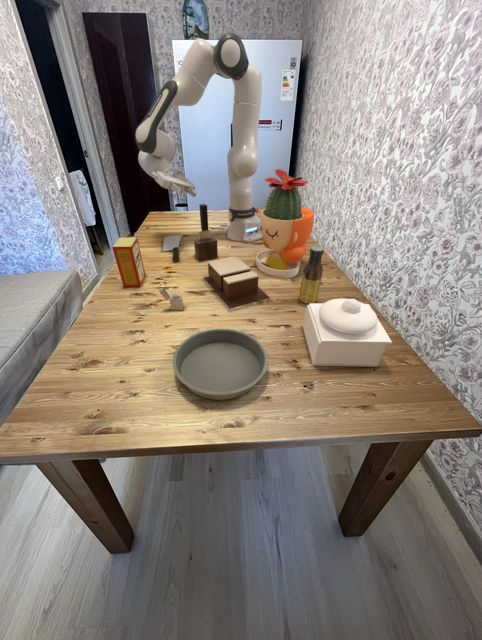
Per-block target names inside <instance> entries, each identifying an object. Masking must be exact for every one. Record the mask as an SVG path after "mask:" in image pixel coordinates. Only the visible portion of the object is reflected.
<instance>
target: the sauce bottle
mask: <svg viewBox="0 0 482 640" xmlns="http://www.w3.org/2000/svg"><path fill="white" fill-rule="evenodd" d="M324 251H325V248H324V247H323V246H320V245H313V246H311V247H310V249H309V258H308V262H307V263H306V265H305V266H304V268H303V270H302V276H301V281H300V288H299V295H298V300H299V302H300V303H301V304H303V305H309V304H310V303H317V300H318V298H319V297H318V296H319V292H320V287H321V284H322V283H321V282H322V278H323V272H324V267H323V265H322V257H323V255H324Z"/></svg>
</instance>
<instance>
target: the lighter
mask: <svg viewBox="0 0 482 640" xmlns="http://www.w3.org/2000/svg"><path fill="white" fill-rule="evenodd" d="M158 292H159V293H160V295H161V297H162V298H163V299H164V300H165V301H168V300H169V305H170V310H171V311H183V310H184V309H185V307H184V299H183V296H180V295H179V294H172V296H170V294H169V293H168V291H167V290H166V289H165V287H160V288H159V289H158Z"/></svg>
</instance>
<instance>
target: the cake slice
mask: <svg viewBox="0 0 482 640" xmlns="http://www.w3.org/2000/svg"><path fill="white" fill-rule="evenodd" d="M259 276H260V275H259V274H257V272H255V271H254V270H252V271H251V270H250V272H247V273H242V274H238V275H233V276H229V277H225V278H223V287H224V295H225V296H226V297H227V299H232V298H236V297H240V296H244V295H248V294H251V293H255V292H258V287H259Z"/></svg>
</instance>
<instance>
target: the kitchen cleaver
mask: <svg viewBox="0 0 482 640" xmlns="http://www.w3.org/2000/svg"><path fill="white" fill-rule="evenodd" d="M183 237H184V234H173V235H169V236H168V235H167V236H164V237H163V243H162V252H169V251H172V259H171V261H172V262H173V263H178V262H179V261H180V242H181V240H182V238H183Z"/></svg>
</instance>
